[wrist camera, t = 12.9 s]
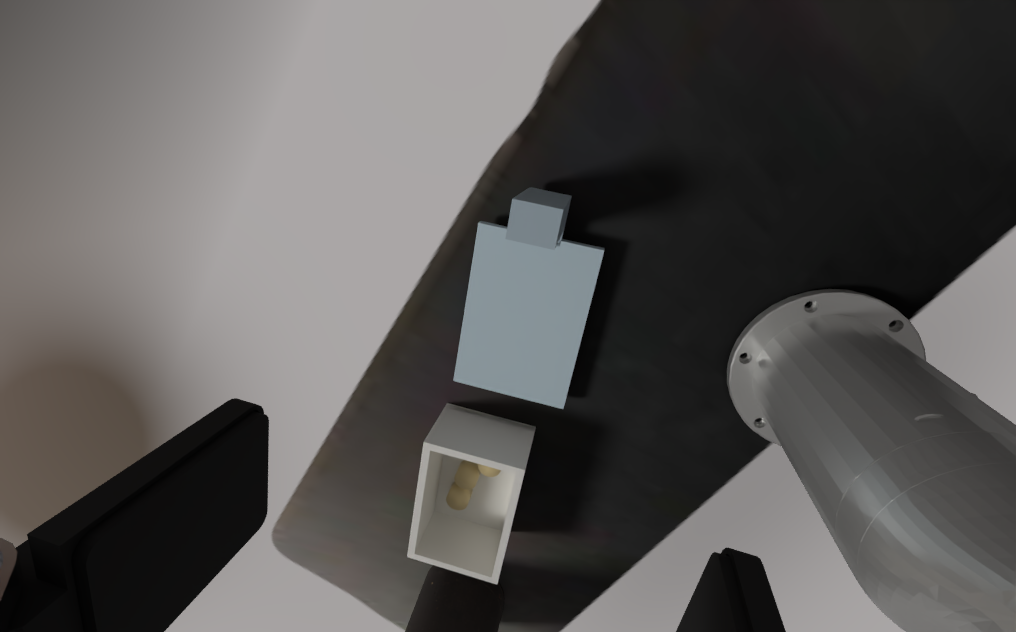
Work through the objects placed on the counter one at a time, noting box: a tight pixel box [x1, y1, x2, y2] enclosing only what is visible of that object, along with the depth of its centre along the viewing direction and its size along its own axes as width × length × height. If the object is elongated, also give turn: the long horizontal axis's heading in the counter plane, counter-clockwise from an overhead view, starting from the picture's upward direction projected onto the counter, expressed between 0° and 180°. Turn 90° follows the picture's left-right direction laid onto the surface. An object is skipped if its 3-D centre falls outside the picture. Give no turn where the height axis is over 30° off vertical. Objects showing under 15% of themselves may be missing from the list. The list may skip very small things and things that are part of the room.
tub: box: [407, 403, 536, 584], centre depth 42 cm, size 8×12×6 cm, turn 169°
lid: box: [453, 187, 604, 409], centre depth 35 cm, size 9×16×8 cm, turn 169°
